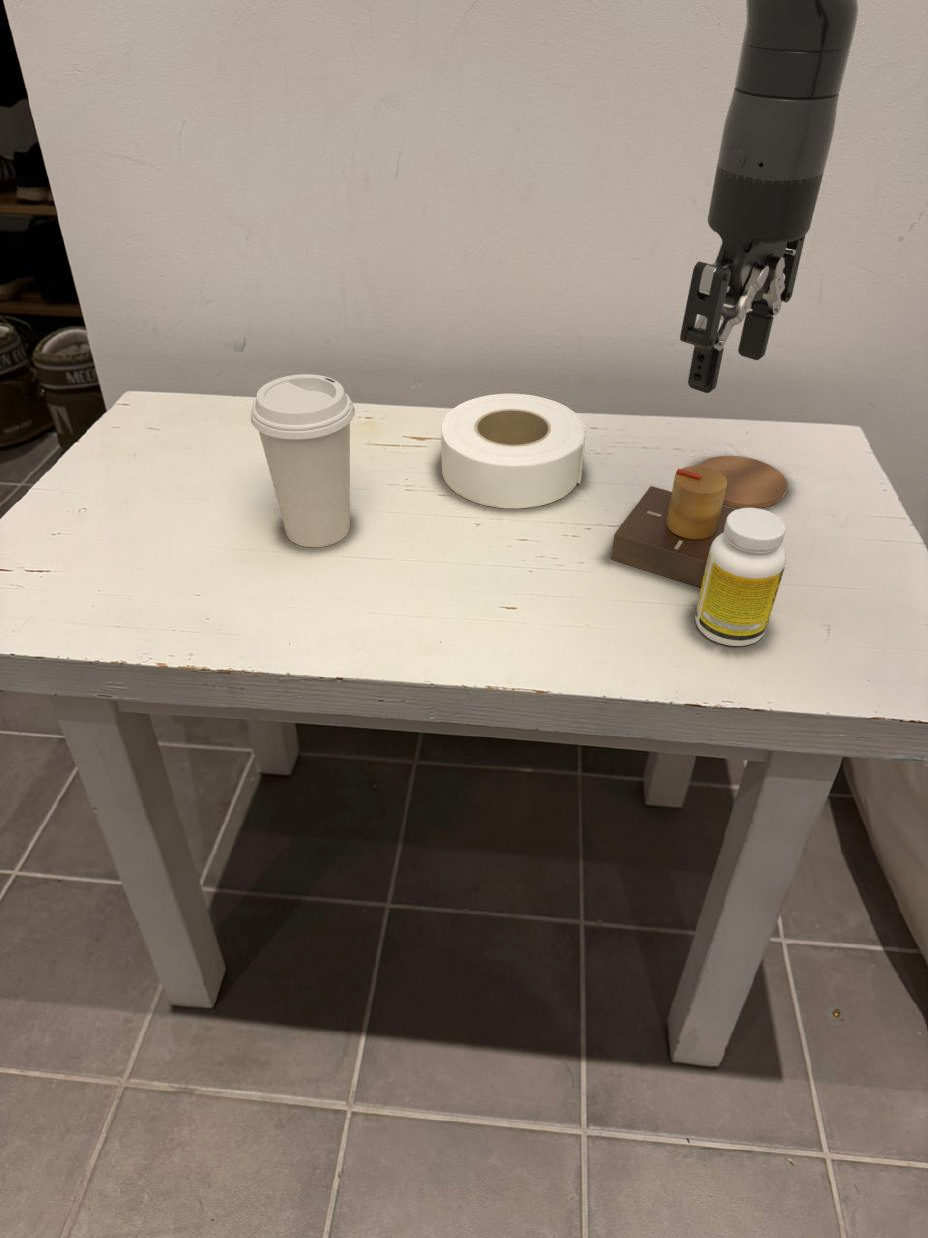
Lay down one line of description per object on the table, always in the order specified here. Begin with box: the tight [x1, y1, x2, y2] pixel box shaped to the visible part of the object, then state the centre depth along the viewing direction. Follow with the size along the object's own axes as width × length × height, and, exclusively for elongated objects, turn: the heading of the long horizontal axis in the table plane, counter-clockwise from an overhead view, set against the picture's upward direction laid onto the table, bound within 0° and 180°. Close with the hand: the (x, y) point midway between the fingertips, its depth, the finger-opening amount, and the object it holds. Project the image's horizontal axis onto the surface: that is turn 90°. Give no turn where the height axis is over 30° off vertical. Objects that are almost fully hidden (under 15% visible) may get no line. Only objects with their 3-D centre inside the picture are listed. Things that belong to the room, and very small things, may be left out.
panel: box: [610, 485, 736, 588], centre depth 85 cm, size 12×10×3 cm
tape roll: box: [440, 393, 586, 510], centre depth 95 cm, size 16×16×6 cm
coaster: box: [697, 455, 788, 509], centre depth 95 cm, size 10×10×1 cm
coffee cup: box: [250, 373, 356, 548], centre depth 84 cm, size 10×10×15 cm
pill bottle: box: [694, 508, 787, 647], centre depth 74 cm, size 6×6×11 cm
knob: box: [666, 465, 727, 540], centre depth 82 cm, size 5×5×6 cm
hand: (726, 372), depth 73 cm, fingers open, 8 cm apart
